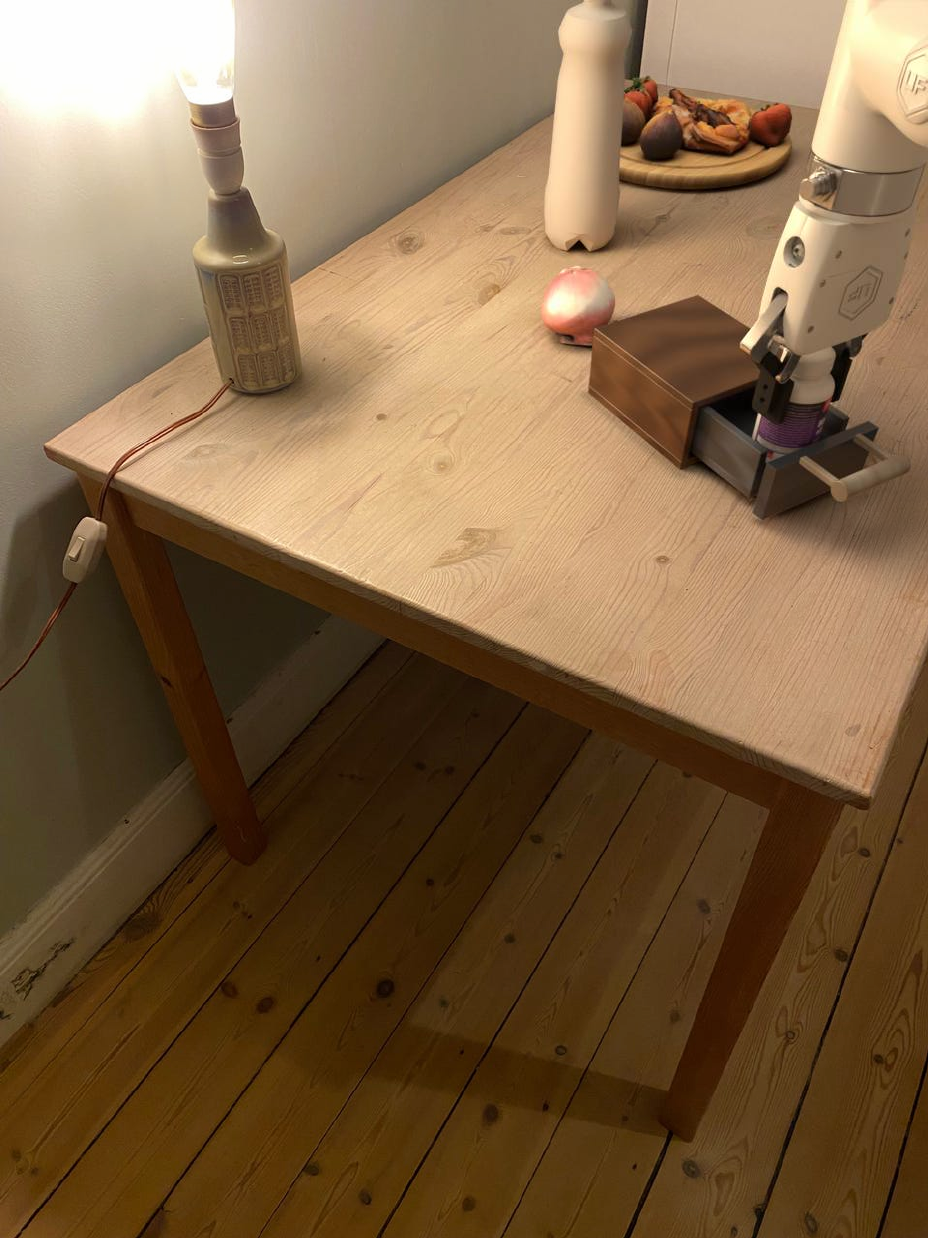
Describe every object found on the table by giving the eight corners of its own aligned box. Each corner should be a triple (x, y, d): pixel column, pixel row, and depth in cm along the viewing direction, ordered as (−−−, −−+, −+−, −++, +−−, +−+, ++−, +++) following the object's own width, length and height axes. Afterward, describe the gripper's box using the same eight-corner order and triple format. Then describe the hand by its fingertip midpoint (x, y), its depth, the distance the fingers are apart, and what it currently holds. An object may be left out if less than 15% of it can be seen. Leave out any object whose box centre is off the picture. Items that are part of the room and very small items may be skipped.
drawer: (907, 511, 77) (934, 451, 73) (807, 558, 73) (829, 498, 69) (755, 403, 88) (770, 345, 84) (661, 438, 85) (671, 380, 80)
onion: (596, 312, 103) (602, 249, 97) (625, 346, 98) (633, 282, 92) (529, 324, 101) (532, 261, 96) (555, 359, 96) (560, 295, 91)
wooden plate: (817, 135, 138) (833, 74, 132) (743, 212, 120) (757, 145, 114) (625, 99, 150) (631, 42, 144) (531, 164, 132) (533, 101, 126)
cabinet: (784, 427, 87) (803, 361, 82) (679, 469, 83) (693, 402, 78) (686, 357, 96) (698, 294, 91) (587, 392, 92) (594, 327, 87)
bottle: (614, 225, 118) (644, -60, 96) (615, 257, 112) (648, -39, 90) (543, 223, 119) (558, -60, 97) (541, 254, 112) (555, -40, 91)
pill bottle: (820, 469, 78) (853, 368, 71) (756, 469, 78) (783, 368, 71) (804, 432, 81) (835, 332, 74) (744, 432, 82) (768, 333, 74)
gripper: (807, 229, 58) (746, 460, 71) (989, 173, 64) (902, 397, 77) (728, 188, 62) (685, 413, 76) (905, 139, 68) (836, 356, 81)
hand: (795, 403), depth 76 cm, fingers closed on pill bottle, 5 cm apart
